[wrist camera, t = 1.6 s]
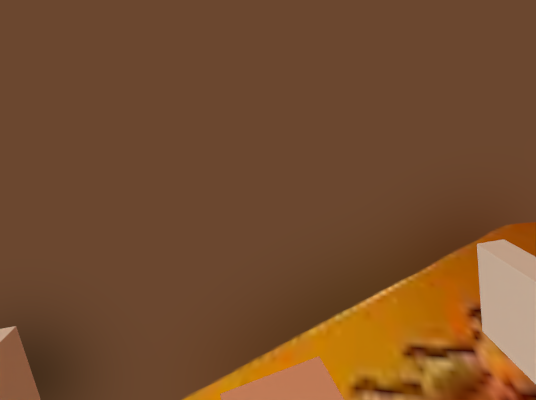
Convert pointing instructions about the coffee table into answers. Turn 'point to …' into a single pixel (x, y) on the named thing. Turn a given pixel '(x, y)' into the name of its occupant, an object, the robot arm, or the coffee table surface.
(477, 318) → the coffee table surface
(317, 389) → the terracotta block
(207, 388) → the coffee table surface
